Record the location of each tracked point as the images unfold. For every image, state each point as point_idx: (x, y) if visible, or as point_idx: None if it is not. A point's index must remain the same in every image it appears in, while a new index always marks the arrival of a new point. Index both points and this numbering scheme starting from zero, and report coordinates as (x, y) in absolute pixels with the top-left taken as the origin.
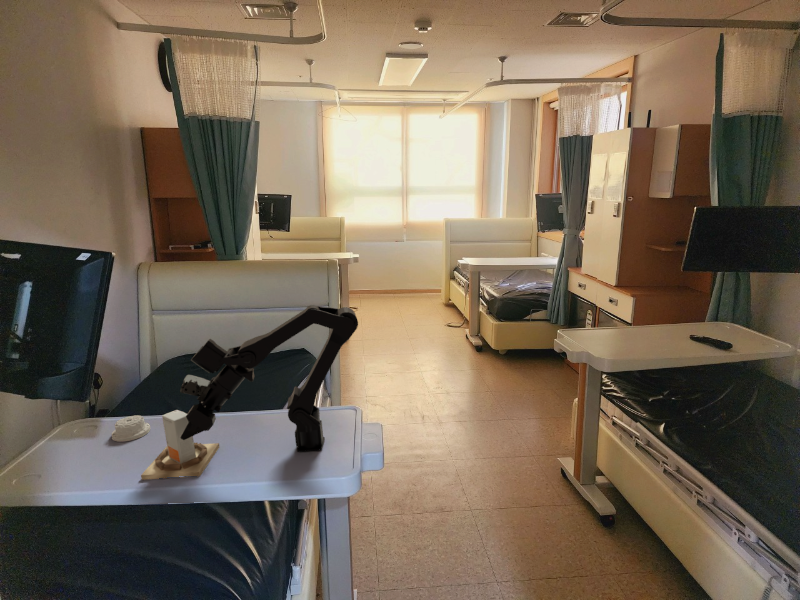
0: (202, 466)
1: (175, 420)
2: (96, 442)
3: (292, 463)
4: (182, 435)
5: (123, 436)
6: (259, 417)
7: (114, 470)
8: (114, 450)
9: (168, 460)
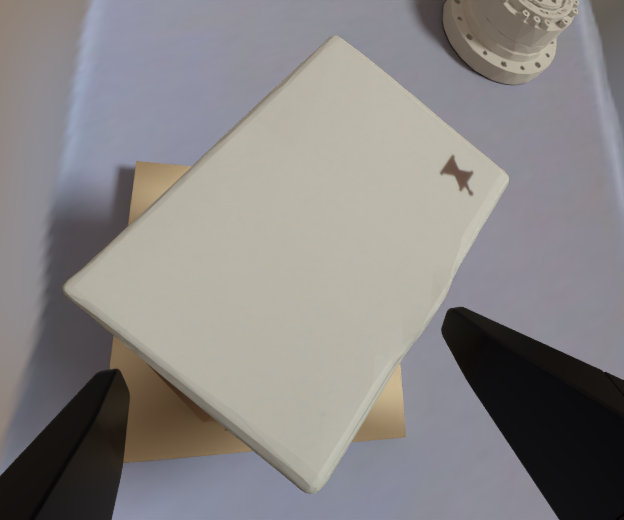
0: (158, 457)
1: (81, 306)
2: None
3: None
4: (67, 412)
5: (461, 11)
6: None
7: (245, 51)
8: (387, 14)
9: None
